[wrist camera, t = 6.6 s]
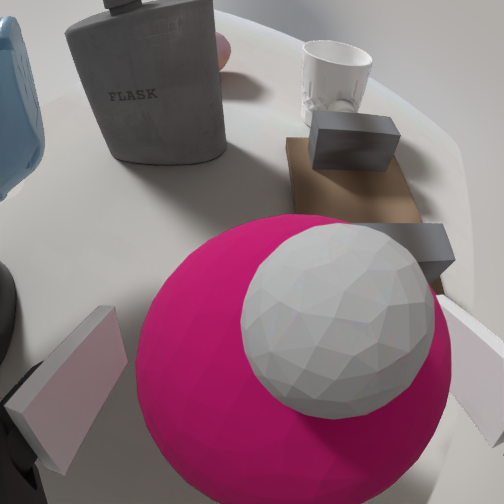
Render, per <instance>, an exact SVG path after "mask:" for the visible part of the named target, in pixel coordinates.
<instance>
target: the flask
mask: <svg viewBox="0 0 504 504" xmlns="http://www.w3.org/2000/svg"><path fill="white" fill-rule="evenodd" d="M103 2H104V7H105V9H109V10H110V11H107V12H102V13H99V14H96V15H93V16H91V17H88V18H86V19H84V20H82V21H80V22H78V23H76V24H74V25H72V26H71V27H69V28H68V29H67V30H66V32H65V36H66V39H67V42H68V45H69V48H70V52H71V54H72V57H73V60H74V63H75V66H76V69H77V71H78V74H79V77H80V80H81V82H82V85H83V88H84V90H85V93H86V95H87V98H88V101H89V103H90V106H91V108H92V110H93V113H94V115H95V118H96V120H97V123H98V125H99V127H100V130H101V132H102V134H103V137H104V139H105V141H106V144H107V146H108V148H109V150H110V152H111V154H112V155H113V156H114V157H115V158H117V159H119V160H123V161H128V162H134V163H142V164H160V165H176V164H193V163H201V162H206V161H209V160H212V159H215V158H216V157H218V156H219V155H221V154H222V153H223V152H224V150H225V149H226V134H225V125H224V115H223V105H222V95H221V85H220V75H219V65H218V54H217V44H216V33H215V22H214V10H213V0H157V1H151V2H147V3H142V2H141V0H103Z"/></svg>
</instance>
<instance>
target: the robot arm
mask: <svg viewBox="0 0 504 504" xmlns="http://www.w3.org/2000/svg"><path fill="white" fill-rule="evenodd" d="M44 148H45V136H44V128H43V122H42V117H41V111H40V107H39V102H38V97H37V93H36V89H35V84H34V79H33V75H32V71H31V67H30V62H29V58H28V55H27V50H26V47H25V43H24V41H23V38H22V34H21V29H20V26H19V24H18V22H17V20H16V19H15V18H14V17H11V16H8V17H5V18H2V17H1V18H0V202H1V201H3V200H4V199H5V198H6V196H7V193H8V192H9V191H10V190H11V189H12V188H13V187H15V186H16V185H17V184H18V183H20V182H21V181H22V180H23V179H25V178H26V177H27V176H28V175H30V174H31V173H32V172H33V171H34V170H35V169H36V168H37V167H38V165H39V164H40V162H41V160H42V157H43V154H44ZM436 297H437V299H438V302H439V304H440V306H441V309H442V311H443V314H444V316H445V319H446V321H447V326H448V330H449V335H450V341H451V360H452V378H451V384H450V389H449V391H450V392H451V393H452V394H453V396H454V397H455V398H456V400H457V401H458V402H459V404H460V405H461V406H462V408H463V409H464V410H465V412H466V413H467V414H468V416H469V417H470V419H471V420H472V421H473V423H474V424H475V425H476V427H477V428H478V430H479V431H480V432H481V434H482V435H483V437H484V438H485V440H486V441H487V442H488V444H489V445H490V447H491V448H494V447H495V446H497V445H499V444H501V443H503V442H504V342H503V341H502V340H501V339H499V338H498V337H497V336H496V335H494V334H493V333H492V332H491V331H489V330H488V329H487V328H486V327H485V326H483V325H482V324H481V323H480V322H478V321H477V320H476V319H475V318H473V317H472V316H471V315H469V314H468V313H467V312H466V311H464V310H463V309H462V308H460V307H459V306H458V305H456V304H455V303H454V302H452V301H451V300H450V299H448V298H447V297H446V296H444V295H436ZM15 306H16V299H15V287H14V282H13V279H12V276H11V274H10V272H9V270H8V268H7V267H6V266H5V265H4V264H3V263H2V262H1V261H0V363H1V362H2V360H3V358H4V355H5V353H6V350H7V348H8V345H9V342H10V338H11V334H12V330H13V325H14V318H15ZM127 363H128V359H127V356H126V352H125V348H124V344H123V340H122V336H121V332H120V328H119V324H118V319H117V315H116V310H115V306H98V307H97V308H96V309H95V310H94V311H93V312H92V313H91V314H90V315H89V316H88V317H87V318H86V319H85V320H84V321H83V322H82V323H81V324H80V325H79V326H78V327H77V328H76V329H75V330H74V331H73V332H72V333H71V334H70V335H69V336H68V337H67V338H66V339H65V340H64V341H63V342H62V343H61V344H60V345H59V346H58V347H57V348H56V349H55V350H54V351H53V352H52V353H51V354H50V355H49V357H48V358H47V359H46V360H45V361H42V362H40V363H39V364H37V365H35V366H34V367H32V368H31V369H30V370H29V371H28V372H27V373H26V374H25V375H24V378H22V379H21V380H20V381H19V382H18V384H16V385H15V386H14V387H13V388H12V390H11V391H10V392H9V393H8V394H7V395H6V396H5V397H4V399H3V400H2V401H1V402H0V504H48V503H47V500H46V497H45V493H44V490H43V486H42V483H41V479H40V475H39V471H38V469H37V467H36V465H35V464H34V463H35V461H36V459H37V458H39V460H40V461H41V462H42V463H43V465H44V466H45V467H46V468H47V469H49V470H51V471H54V472H56V473H59V474H62V475H64V476H65V474H66V472H67V470H68V468H69V466H70V464H71V463H72V461H73V459H74V457H75V455H76V453H77V451H78V449H79V447H80V446H81V444H82V442H83V440H84V438H85V436H86V434H87V433H88V431H89V429H90V427H91V425H92V424H93V422H94V420H95V418H96V416H97V415H98V413H99V411H100V409H101V408H102V406H103V404H104V402H105V401H106V399H107V397H108V395H109V394H110V392H111V390H112V388H113V387H114V385H115V383H116V382H117V380H118V378H119V376H120V375H121V373H122V371H123V370H124V368H125V366H126V365H127Z"/></svg>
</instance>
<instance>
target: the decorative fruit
mask: <svg viewBox="0 0 504 504" xmlns="http://www.w3.org/2000/svg"><path fill="white" fill-rule="evenodd" d="M215 33H216V44H217V54H218V65H219V71H220V70H221V69H222V68H223V67H224V66H225V65H226V63H227V61H228V59H229V57H230V53H231V47H230V44H229V42H228V41H227V39H226V38H225V37H224V36H223V35H221V34H219V33H217V32H215Z"/></svg>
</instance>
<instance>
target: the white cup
mask: <svg viewBox="0 0 504 504" xmlns="http://www.w3.org/2000/svg"><path fill="white" fill-rule="evenodd" d="M372 63H373V59H372V57H371V56H370V55H369V54H368V53H366V52H364V51H363V50H361V49H359V48H357V47H354V46H351V45H348V44H345V43H341V42H335V41H326V40H317V41H310V42H307V43H305V44H304V45H303V53H302V113H301V117H302V119H303V121H304V123H305V124H306V125H308V126H309V127H311V121H312V113H313V110H320V111H328V108H329V106H330V104H331V103H332V102H333V101H335V100H338V99H347V100H349V101H351V102H352V103H353V105H354V107H355V109H356V111H358V109H359V107H360V104H361V101H362V98H363V95H364V92H365V88H366V85H367V81H368V78H369V74H370V70H371V67H372Z"/></svg>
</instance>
